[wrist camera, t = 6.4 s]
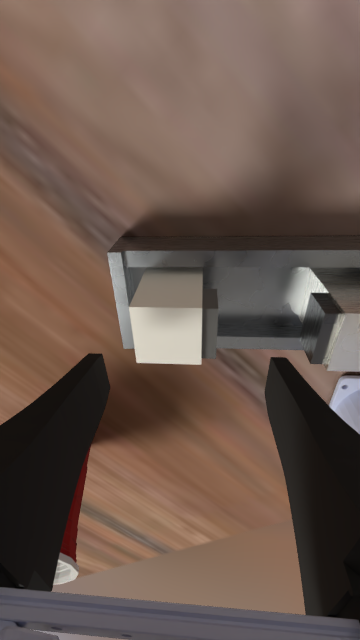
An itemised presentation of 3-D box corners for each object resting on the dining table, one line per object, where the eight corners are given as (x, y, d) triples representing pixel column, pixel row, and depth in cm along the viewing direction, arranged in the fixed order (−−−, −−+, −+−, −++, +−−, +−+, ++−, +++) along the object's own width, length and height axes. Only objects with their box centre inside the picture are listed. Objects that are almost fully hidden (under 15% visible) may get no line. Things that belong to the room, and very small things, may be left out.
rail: (341, 328, 21) (389, 395, 16) (132, 325, 23) (109, 385, 17) (373, 235, 18) (450, 280, 12) (120, 237, 19) (85, 278, 13)
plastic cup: (71, 470, 35) (18, 604, 25) (-3, 422, 31) (-102, 559, 21) (136, 444, 31) (104, 590, 21) (62, 384, 27) (-22, 531, 17)
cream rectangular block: (147, 265, 18) (128, 307, 14) (215, 265, 18) (218, 308, 14) (151, 312, 20) (136, 362, 16) (213, 313, 20) (215, 365, 16)
